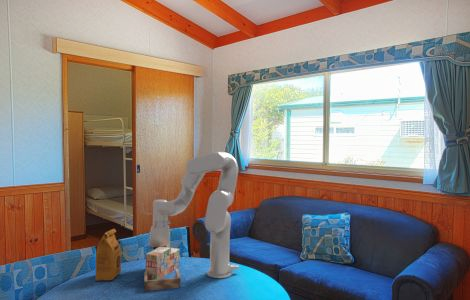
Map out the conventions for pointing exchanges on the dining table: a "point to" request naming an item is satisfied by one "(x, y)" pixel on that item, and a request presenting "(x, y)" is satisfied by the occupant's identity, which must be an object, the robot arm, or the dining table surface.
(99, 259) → the coffee package
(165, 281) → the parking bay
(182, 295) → the dining table surface
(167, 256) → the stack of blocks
